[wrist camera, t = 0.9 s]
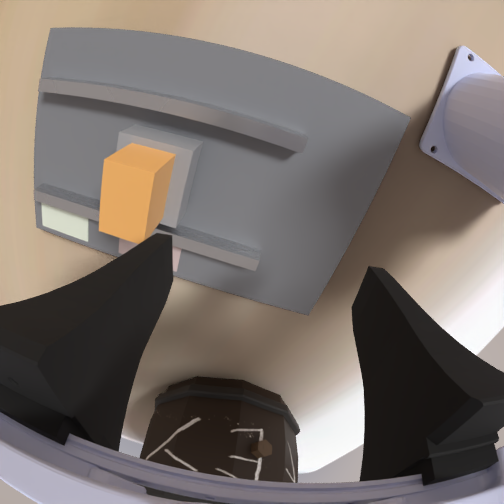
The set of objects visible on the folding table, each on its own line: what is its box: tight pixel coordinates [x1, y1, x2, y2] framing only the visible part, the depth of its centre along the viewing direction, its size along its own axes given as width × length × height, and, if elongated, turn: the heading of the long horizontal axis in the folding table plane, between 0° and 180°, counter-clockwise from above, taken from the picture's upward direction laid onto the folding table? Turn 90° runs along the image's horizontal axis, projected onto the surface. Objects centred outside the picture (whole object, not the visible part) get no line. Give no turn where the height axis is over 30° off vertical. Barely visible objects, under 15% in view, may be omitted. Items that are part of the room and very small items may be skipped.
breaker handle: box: [99, 125, 203, 244], centre depth 15 cm, size 4×4×5 cm
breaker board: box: [34, 28, 411, 315], centre depth 17 cm, size 22×15×3 cm
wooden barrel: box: [135, 376, 300, 504], centre depth 28 cm, size 18×18×16 cm
